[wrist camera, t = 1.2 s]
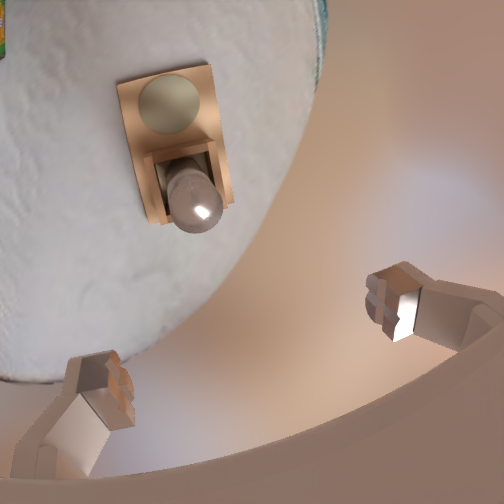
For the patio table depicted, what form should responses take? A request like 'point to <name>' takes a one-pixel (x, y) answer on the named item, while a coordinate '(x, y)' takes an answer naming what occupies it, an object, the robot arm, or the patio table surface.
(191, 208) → the peg
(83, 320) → the patio table surface
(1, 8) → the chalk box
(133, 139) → the pocket board
